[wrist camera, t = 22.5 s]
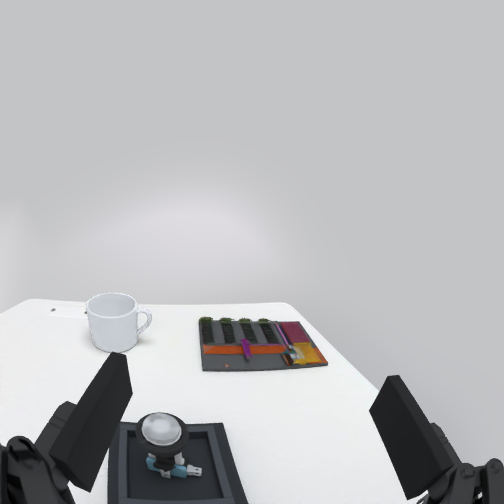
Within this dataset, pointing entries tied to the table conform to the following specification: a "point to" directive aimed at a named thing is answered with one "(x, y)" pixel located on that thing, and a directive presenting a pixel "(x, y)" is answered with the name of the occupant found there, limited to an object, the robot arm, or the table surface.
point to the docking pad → (175, 488)
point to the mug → (114, 321)
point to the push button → (165, 444)
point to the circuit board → (256, 345)
